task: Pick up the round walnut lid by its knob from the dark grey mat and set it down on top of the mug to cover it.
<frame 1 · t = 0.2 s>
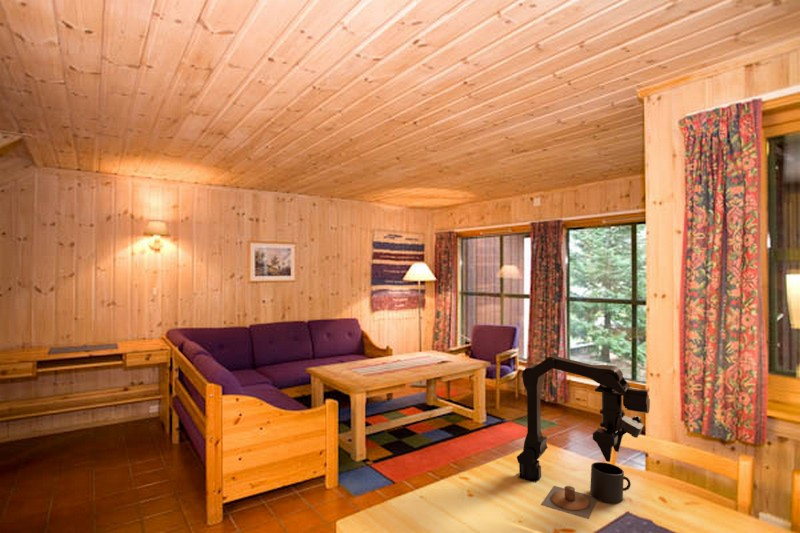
hand: (612, 456, 138), 14 cm above the table, tool pointing down, fingers open, 9 cm apart
mat: (569, 502, 137), on the table
lid: (569, 501, 137), point 1 cm above the table, touching mat
mug: (610, 497, 140), on the table, touching mat
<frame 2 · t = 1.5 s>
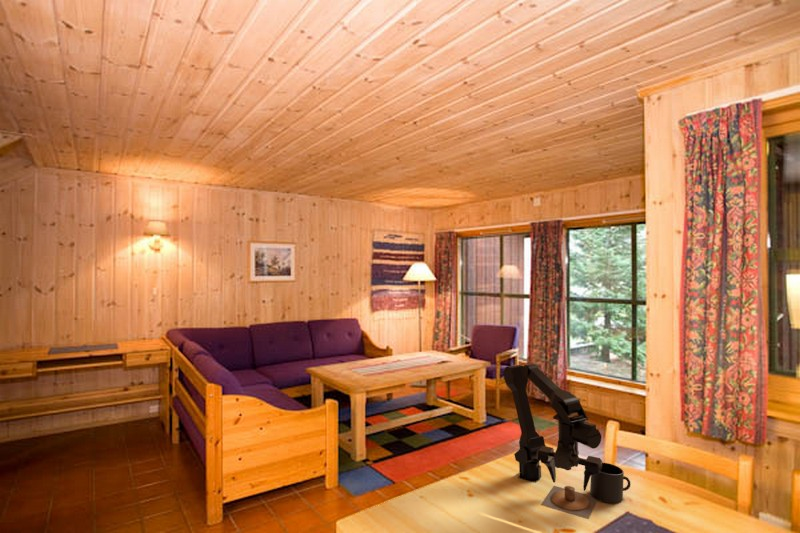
hand: (569, 486, 138), 5 cm above the table, tool pointing down, fingers open, 9 cm apart
nothing on the table moved.
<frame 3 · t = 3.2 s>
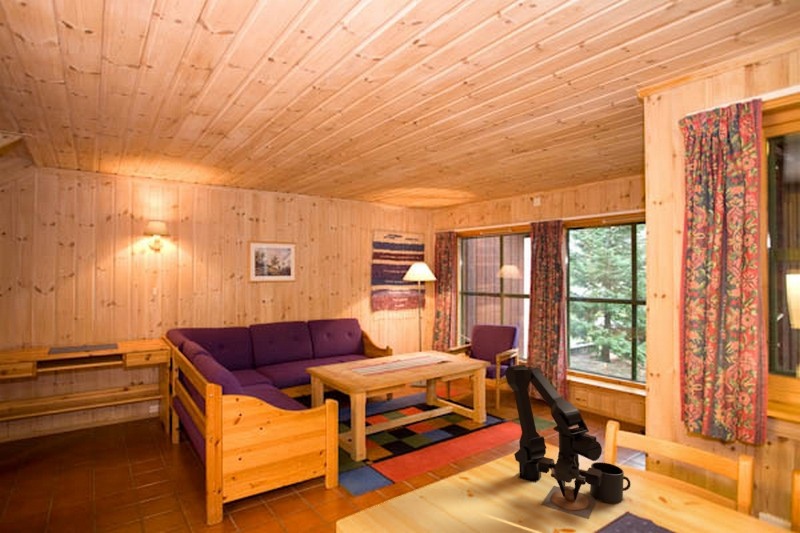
hand: (569, 497, 138), 2 cm above the table, tool pointing down, fingers closed on lid, 3 cm apart
lid: (569, 501, 138), point 1 cm above the table, touching gripper, mat
everything else where it was.
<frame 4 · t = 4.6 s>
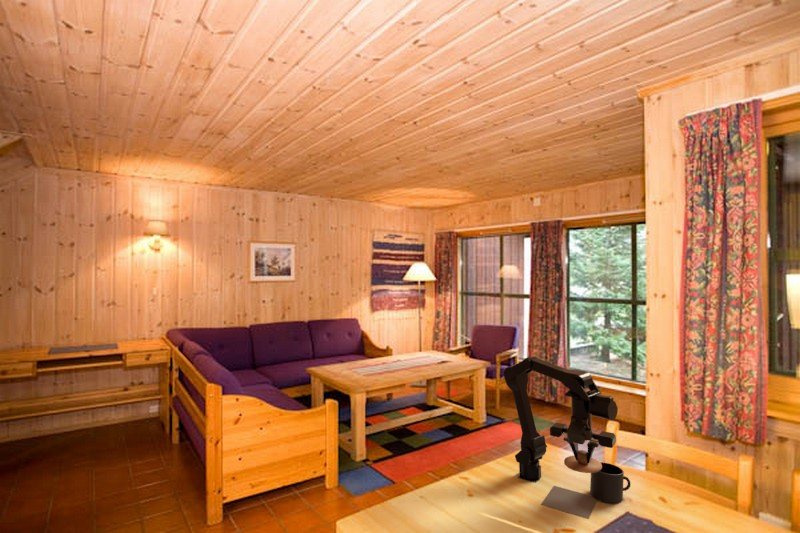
hand: (582, 461, 138), 13 cm above the table, tool pointing down, fingers closed on lid, 3 cm apart
lid: (582, 464, 138), point 12 cm above the table, touching gripper
everything else where it was.
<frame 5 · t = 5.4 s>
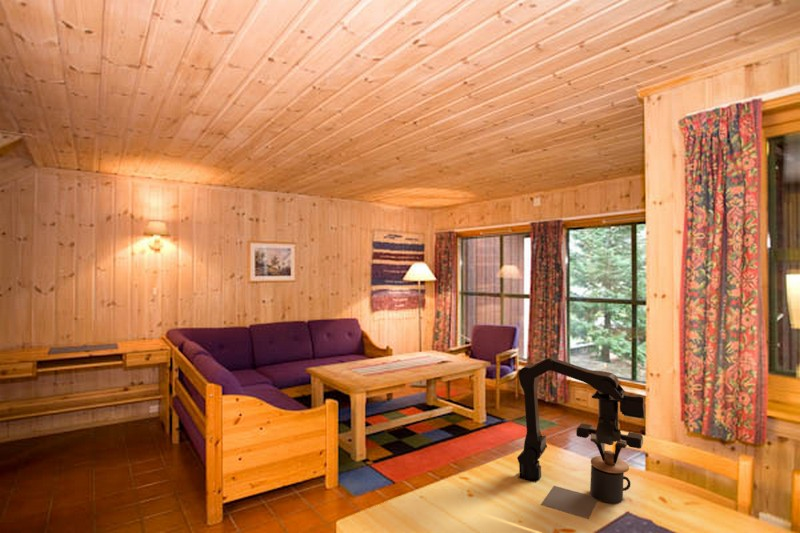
hand: (609, 462, 140), 12 cm above the table, tool pointing down, fingers closed on lid, 3 cm apart
lid: (609, 465, 140), point 11 cm above the table, touching gripper
everything else where it was.
when the fingers open (11 cm above the table, at t = 6.1 s): lid stays where it is, resting on mug.
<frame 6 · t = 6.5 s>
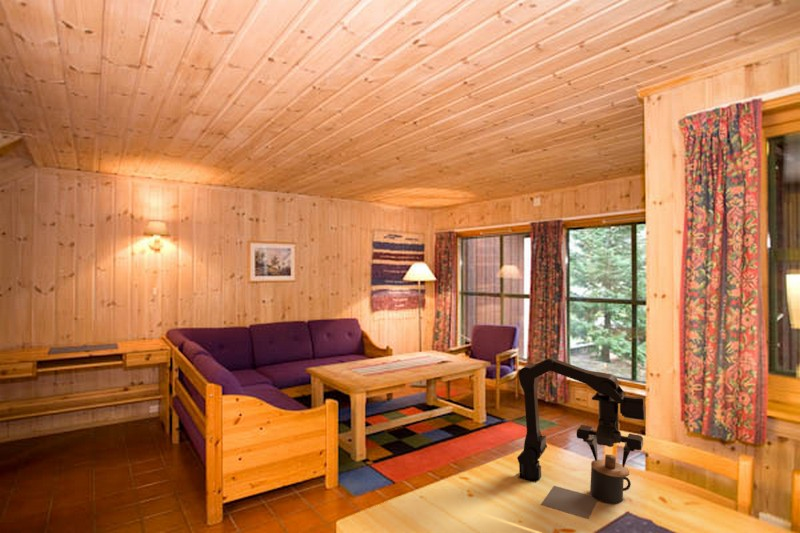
hand: (609, 463, 140), 11 cm above the table, tool pointing down, fingers open, 8 cm apart
lid: (609, 468, 140), point 9 cm above the table, touching mug
mug: (610, 497, 140), on the table, touching lid, mat
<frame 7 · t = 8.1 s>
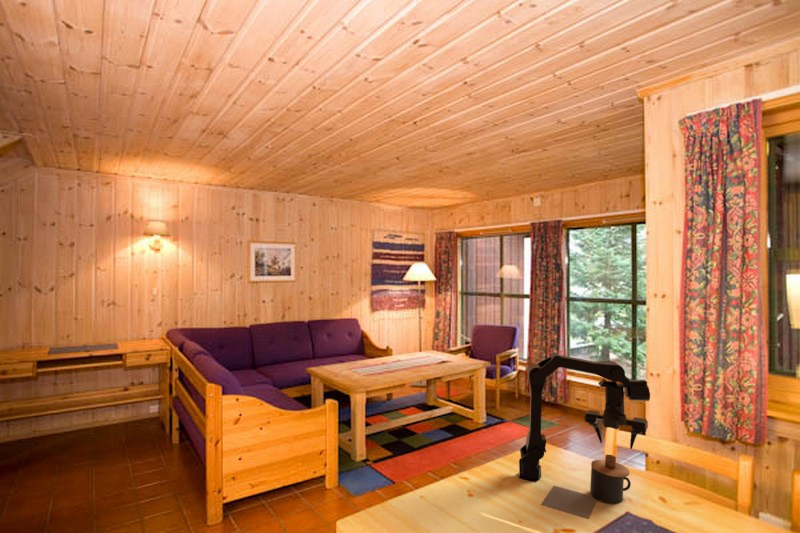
hand: (616, 445, 148), 13 cm above the table, tool pointing down, fingers open, 9 cm apart
nothing on the table moved.
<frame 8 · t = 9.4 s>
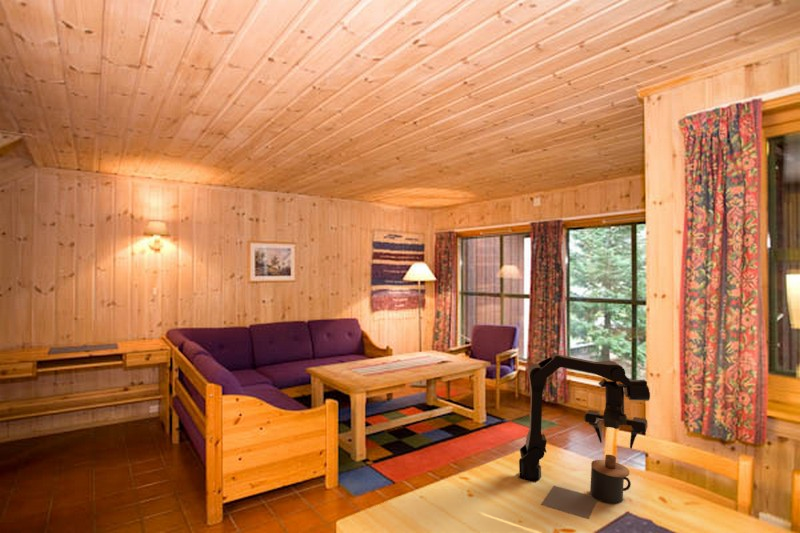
hand: (615, 445, 149), 13 cm above the table, tool pointing down, fingers open, 9 cm apart
nothing on the table moved.
at the end: lid 0.2 cm from the mug (horizontally); lid point 9.3 cm above the table; mug tilted 5° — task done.
